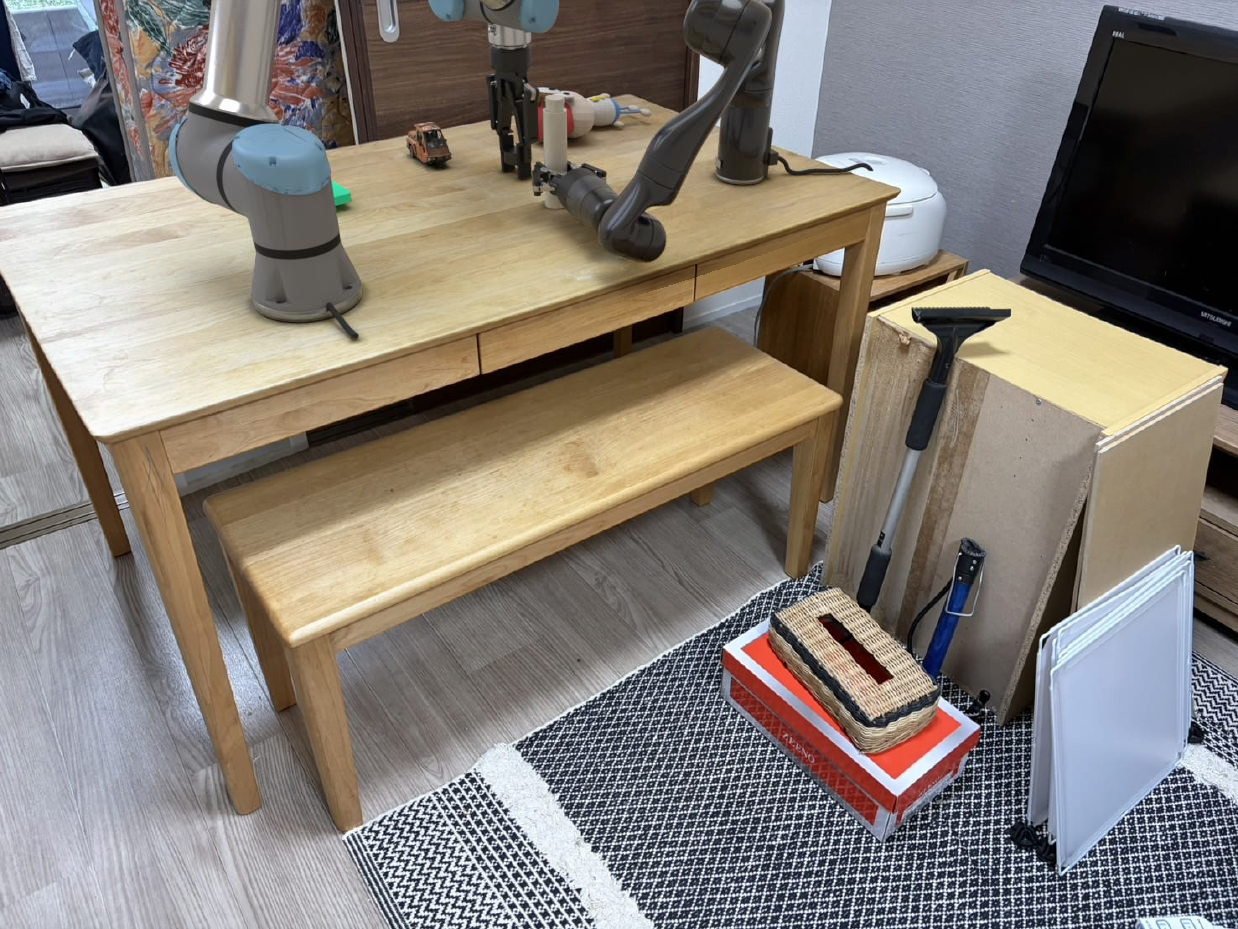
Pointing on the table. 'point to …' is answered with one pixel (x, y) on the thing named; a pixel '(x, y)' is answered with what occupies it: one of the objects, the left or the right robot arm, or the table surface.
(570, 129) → the toy
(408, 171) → the table surface
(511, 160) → the lid
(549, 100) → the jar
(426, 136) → the toy car
